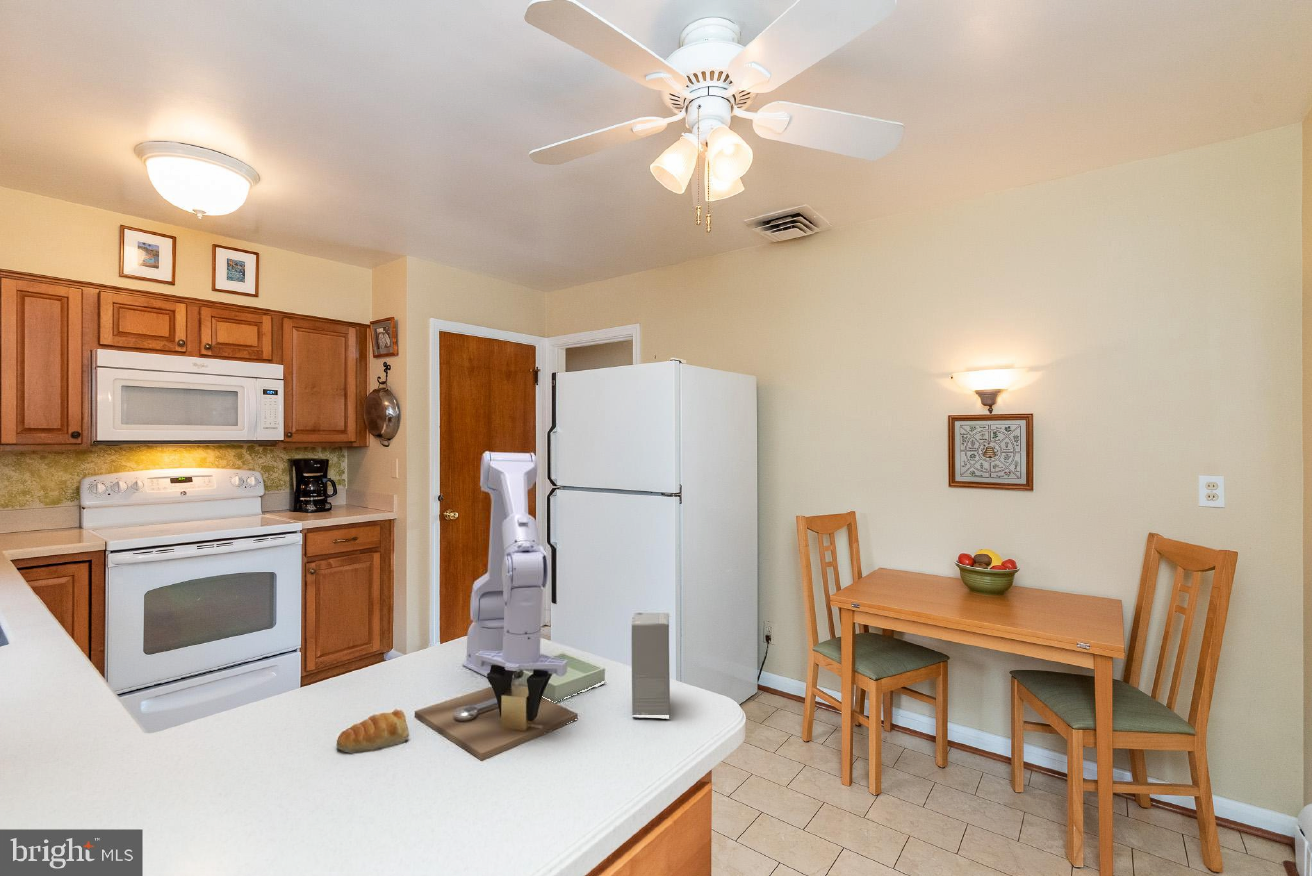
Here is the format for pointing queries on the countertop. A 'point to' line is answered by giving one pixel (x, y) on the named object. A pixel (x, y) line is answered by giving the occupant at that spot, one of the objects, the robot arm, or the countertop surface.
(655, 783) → the countertop surface
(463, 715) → the crank
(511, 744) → the crank plate
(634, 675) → the skincare box
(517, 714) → the block
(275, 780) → the countertop surface
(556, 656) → the tray
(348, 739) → the pastry
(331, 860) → the countertop surface
